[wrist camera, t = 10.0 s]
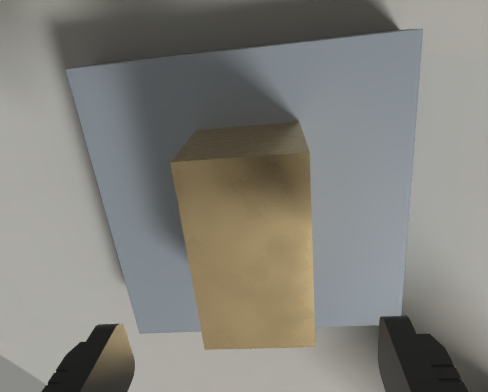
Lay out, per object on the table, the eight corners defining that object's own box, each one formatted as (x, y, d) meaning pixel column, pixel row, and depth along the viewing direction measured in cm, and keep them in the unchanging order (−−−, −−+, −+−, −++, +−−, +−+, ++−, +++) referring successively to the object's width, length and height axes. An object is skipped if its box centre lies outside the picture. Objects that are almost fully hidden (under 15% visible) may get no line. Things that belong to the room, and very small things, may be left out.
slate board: (400, 29, 18) (423, 28, 16) (386, 292, 25) (400, 324, 22) (93, 64, 20) (65, 69, 17) (153, 302, 26) (139, 333, 23)
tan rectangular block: (299, 121, 17) (309, 152, 13) (305, 278, 21) (315, 347, 16) (195, 130, 18) (170, 162, 13) (218, 282, 21) (204, 349, 17)
